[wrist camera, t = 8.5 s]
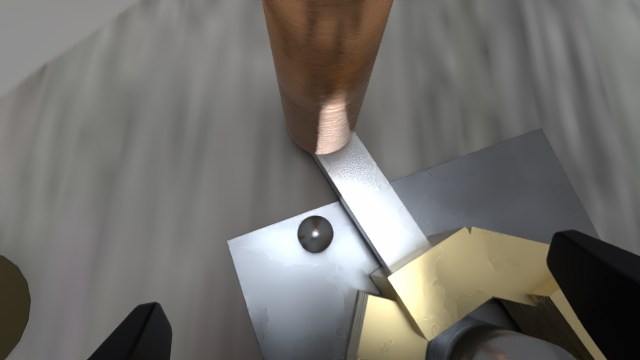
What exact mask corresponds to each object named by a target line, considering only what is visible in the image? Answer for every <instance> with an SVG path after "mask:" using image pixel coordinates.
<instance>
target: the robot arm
mask: <svg viewBox="0 0 640 360" xmlns="http://www.w3.org/2000/svg"><path fill="white" fill-rule="evenodd" d="M546 264H547V267H548V269H549V271H550V273H551V274H552V276H553V278H554V279H555V281H556V283H557V284H558V286H559V288H560V289H561V291H562V293H563V294H564V296H565V298H566V299H567V301H568V303H569V304H570V306H571V308H572V309H573V311H574V313H575V315H576V316H577V318H578V319H579V321H580V323H581V324H582V326H583V327H584V329H585V330H586V332H587V333H588V335H589V336H590V337H591V339H592V340H593V342H594V343H595V344H596V346H597V347H598V348H599V350H600V351H601V353H602V354H603V355H604V357H605V358H606V359H607V360H640V256H638V255H636V254H634V253H631V252H629V251H626V250H624V249H621V248H619V247H616V246H614V245H611V244H609V243H607V242H604V241H602V240H599V239H597V238H594V237H592V236H589V235H587V234H584V233H582V232H580V231H577V230H573V229H570V230H564V231H558V232H555V233H554V234H553V235H552V238H551V241H550V245H549V249H548V252H547V256H546ZM171 343H172V328H171V325H170V323H169V321H168V319H167V317H166V315H165V313H164V311H163V309H162V307H161V305H160V304H159V303H158V302H151V303H146V304H141V305H138V306H137V307H136V308H134V310H133V311H132V312H131V313H130V314H129V315H128V316H127V317H126V318H125V319H124V320H123V321H122V323H121V324H120V325H119V326H118V327H117V328H116V329H115V330H114V331H113V332H112V333H111V334H110V336H109V337H108V338H107V339H106V340H105V341H104V342H103V343H102V344H101V345H100V346H99V347H98V349H97V350H96V351H95V352H94V353H93V354H92V355H91V356H90V357H89V358H88V359H87V360H170V353H171Z"/></svg>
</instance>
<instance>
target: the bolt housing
mask: <svg viewBox="0 0 640 360" xmlns="http://www.w3.org/2000/svg"><path fill="white" fill-rule="evenodd" d="M389 184H390V185H391V187H392V188H393V190H394V191H395V193H396V194H397V196H398V197H399V199H400V200H401V202H402V203H403V205H404V206H405V208H406V209H407V211H408V212H409V213H410V215H411V216H412V218H413V219H414V221H415V222H416V224H417V225H418V227H419V228H420V230H421V231H422V233H423V234H424V236H425V237H426V238H427V237H428V236H430V235H434V234H438V233H442V232H446V231H450V230H453V229H457V228H461V227H466V228H468V227H476V228H480V229H485V230H489V231H493V232H497V233H502V234H506V235H510V236H514V237H519V238H523V239H527V240H532V241H536V242H540V243H544V244H549V245H550V241H551V238H552V235H553V234H554V233H555V232H558V231H564V230H570V229H573V230H577V231H580V232H582V233H584V234H587V235H589V236H592V237H594V238H597V239H599V240H601V239H600V238H599V236H598V234H597V232H596V230H595V228H594V226H593V224H592V222H591V221H590V219H589V217H588V215H587V213H586V211H585V209H584V207H583V205H582V204H581V202H580V200H579V198H578V196H577V194H576V192H575V190H574V188H573V187H572V185H571V183H570V181H569V179H568V177H567V175H566V173H565V171H564V170H563V168H562V166H561V164H560V162H559V160H558V158H557V156H556V154H555V153H554V151H553V149H552V147H551V145H550V143H549V141H548V139H547V137H546V135H545V134H544V132H543V130H542V128H541V129H538V130H535V131H532V132H530V133H527V134H524V135H521V136H519V137H516V138H513V139H510V140H507V141H505V142H502V143H499V144H496V145H493V146H491V147H488V148H485V149H482V150H479V151H477V152H474V153H471V154H468V155H466V156H463V157H460V158H457V159H454V160H452V161H449V162H446V163H443V164H440V165H438V166H435V167H432V168H429V169H426V170H424V171H421V172H418V173H415V174H413V175H410V176H407V177H404V178H401V179H399V180H396V181H393V182H390V183H389ZM227 242H228V245H229V249H230V252H231V255H232V258H233V262H234V265H235V268H236V272H237V275H238V278H239V281H240V285H241V288H242V291H243V295H244V298H245V301H246V304H247V308H248V311H249V314H250V318H251V321H252V324H253V327H254V331H255V334H256V337H257V341H258V344H259V347H260V350H261V354H262V357H263V360H346V356H347V351H348V346H349V341H350V336H351V331H352V326H353V321H354V316H355V311H356V306H357V301H358V296H359V291H360V290H361V291H365V292H369V293H373V294H378V295H382V293H381V292H380V290H379V289H378V287H377V285H376V284H375V282H374V281H373V279H372V277H371V276H370V274H372V273H373V272H375V271H376V270H378V269H379V268H381V267H382V264H381V263H380V261H379V260H378V258H377V256H376V255H375V253H374V252H373V250H372V249H371V247H370V246H369V244H368V242H367V241H366V239H365V238H364V236H363V235H362V233H361V231H360V230H359V228H358V227H357V225H356V224H355V222H354V221H353V219H352V217H351V216H350V214H349V213H348V211H347V210H346V208H345V206H344V205H343V203H342V202H341V200H340V201H337V202H334V203H332V204H329V205H326V206H323V207H320V208H318V209H315V210H312V211H309V212H307V213H304V214H301V215H298V216H295V217H293V218H290V219H287V220H284V221H281V222H279V223H276V224H273V225H270V226H267V227H265V228H262V229H259V230H256V231H254V232H251V233H248V234H245V235H242V236H240V237H237V238H234V239H231V240H228V241H227ZM382 296H383V295H382ZM425 360H577V359H576V358H575V357H574V356H573V355H571V354H570V353H569V352H567V351H566V350H565V349H563V348H561V347H559V346H557V345H555V344H552V343H549V342H546V341H543V340H540V339H537V338H534V337H531V336H528V335H525V334H523V332H522V331H521V330H520V328H519V327H518V325H517V324H516V322H515V321H514V320H513V318H512V317H511V315H510V314H509V312H508V311H507V309H506V308H505V307H504V305H503V304H502V302H501V301H500V300H498V299H494V298H490V299H489V300H487V301H486V302H484V303H483V304H482V305H480V306H479V307H477V308H476V309H475V310H473V311H472V312H470V313H469V314H467V315H466V316H465V317H463V318H462V319H460V320H459V321H457V322H456V323H455V324H453V325H452V326H450V327H449V328H448V329H446V330H445V331H443V332H442V333H440V334H439V335H438V336H436V337H435V338H433V339H432V340H430V341H429V342H427V349H426V355H425Z"/></svg>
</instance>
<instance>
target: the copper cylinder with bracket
mask: <svg viewBox="0 0 640 360" xmlns="http://www.w3.org/2000/svg"><path fill="white" fill-rule="evenodd" d="M392 3H393V0H262V4H263V9H264V14H265V19H266V24H267V29H268V35H269V40H270V45H271V50H272V55H273V60H274V65H275V71H276V76H277V81H278V86H279V91H280V96H281V101H282V107H283V112H284V117H285V122H286V127H287V131H288V134H289V136H290V138H291V139H292V140H293V142H294V143H295V144H296V145H297V146H298V147H300V148H301V149H303V150H305V151H307V152H310V153H311V155H312V156H313V158H314V160H315V161H316V163H317V164H318V166H319V167H320V169H321V170H322V172H323V174H324V175H325V177H326V178H327V180H328V181H329V183H330V185H331V186H332V188H333V189H334V191H335V192H336V194H337V196H338V197H339V199H340V200H341V202H342V203H343V205H344V206H345V208H346V210H347V211H348V213H349V214H350V216H351V217H352V219H353V221H354V222H355V224H356V225H357V227H358V228H359V230H360V231H361V233H362V235H363V236H364V238H365V239H366V241H367V242H368V244H369V246H370V247H371V249H372V250H373V252H374V253H375V255H376V256H377V258H378V260H379V261H380V263H381V264H382V267H381V268H379V269H378V270H376V271H375V272H373V273H372V274H370V276H371V277H372V279H373V281H374V282H375V284H376V285H377V287H378V289H379V290H380V292H381V293H382V295H383V296H382V295H378V294H373V293H369V292H365V291H361V290H360V291H359V296H358V301H357V306H356V311H355V316H354V321H353V326H352V331H351V336H350V341H349V346H348V351H347V356H346V360H425V355H426V349H427V342H429V341H430V340H432V339H433V338H435V337H436V336H438V335H439V334H440V333H442V332H443V331H445V330H446V329H448V328H449V327H450V326H452V325H453V324H455V323H456V322H457V321H459V320H460V319H462V318H463V317H465V316H466V315H467V314H469V313H470V312H472V311H473V310H475V309H476V308H477V307H479V306H480V305H482V304H483V303H484V302H486V301H487V300H489V299H490V298H494V299H498V300H500V301H501V302H502V304H503V305H504V307H505V308H506V309H507V311H508V312H509V314H510V315H511V317H512V318H513V320H514V321H515V322H516V324H517V325H518V327H519V328H520V330H521V331H522V332H523V334H525V335H528V336H531V337H534V338H537V339H540V340H543V341H546V342H549V343H552V344H555V345H557V346H559V347H561V348H563V349H565V350H566V351H567V352H569V353H570V354H571V355H573V356H574V357H575V358H576V359H577V360H607V359H606V358H605V357H604V355H603V354H602V353H601V351H600V350H599V348H598V347H597V346H596V344H595V343H594V342H593V340H592V339H591V337H590V336H589V335H588V333H587V332H586V330H585V329H584V327H583V326H582V324H581V323H580V321H579V319H578V318H577V316H576V315H575V313H574V311H573V309H572V308H571V306H570V304H569V303H568V301H567V299H566V298H565V296H564V294H563V293H562V291H561V289H560V288H559V286H558V284H557V283H556V281H555V279H554V278H553V276H552V274H551V273H550V271H549V269H548V267H547V264H546V256H547V252H548V249H549V244H544V243H540V242H536V241H532V240H527V239H523V238H519V237H514V236H510V235H506V234H502V233H497V232H493V231H489V230H485V229H480V228H476V227H468V228H466V227H461V228H457V229H453V230H450V231H446V232H442V233H438V234H434V235H430V236H428V237H427V238H426V237H425V236H424V234H423V233H422V231H421V230H420V228H419V227H418V225H417V224H416V222H415V221H414V219H413V218H412V216H411V215H410V213H409V212H408V211H407V209H406V208H405V206H404V205H403V203H402V202H401V200H400V199H399V197H398V196H397V194H396V193H395V191H394V190H393V188H392V187H391V185H390V184H389V182H388V181H387V179H386V178H385V176H384V175H383V174H382V172H381V171H380V169H379V168H378V166H377V165H376V163H375V162H374V160H373V159H372V157H371V156H370V154H369V153H368V151H367V150H366V148H365V147H364V145H363V144H362V142H361V141H360V139H359V138H358V137H357V135H356V134H355V132H354V129H355V126H356V123H357V119H358V116H359V113H360V109H361V106H362V103H363V100H364V96H365V93H366V90H367V86H368V83H369V80H370V76H371V73H372V70H373V66H374V63H375V60H376V56H377V53H378V50H379V47H380V43H381V40H382V37H383V33H384V30H385V27H386V23H387V20H388V17H389V13H390V10H391V7H392Z"/></svg>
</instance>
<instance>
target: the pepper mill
mask: <svg viewBox="0 0 640 360" xmlns="http://www.w3.org/2000/svg"><path fill="white" fill-rule="evenodd" d="M29 308H30V295H29V290H28V285H27V281H26V280H25V278H24V276H23V275H22V273H21V272H20V270H19V268H18V267H17V266H16V265H15V264H13V263H12V262H11V261H9V260H8V259H7V258H5V257H4V256H1V255H0V360H4V359H6V357H7V356H8V355H9V353H10V352H11V351H12V350H13V348H14V347H15V346H16V345H17V343H18V342H19V341H20V338H21V336H22V334H23V331H24V329H25V327H26V324H27V322H28V317H29Z"/></svg>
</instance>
